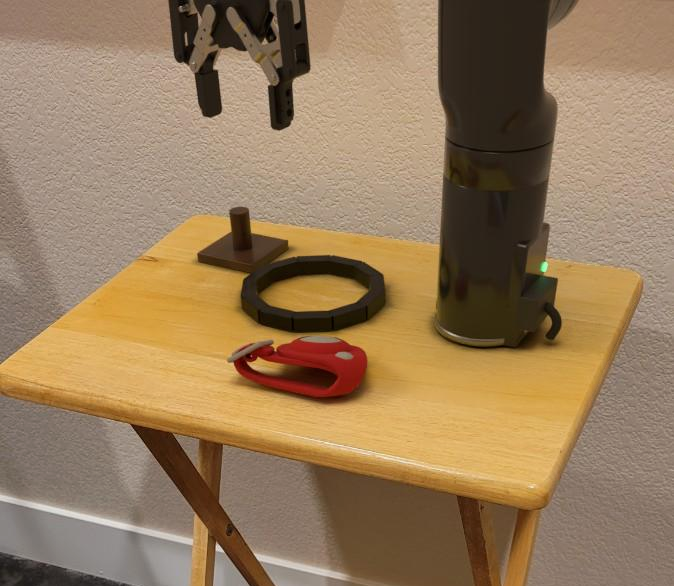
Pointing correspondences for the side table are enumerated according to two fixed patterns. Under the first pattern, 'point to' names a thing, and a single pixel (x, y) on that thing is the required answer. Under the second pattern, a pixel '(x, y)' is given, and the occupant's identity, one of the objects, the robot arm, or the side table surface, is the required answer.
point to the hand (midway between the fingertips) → (246, 121)
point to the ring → (313, 319)
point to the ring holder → (242, 246)
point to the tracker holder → (306, 363)
